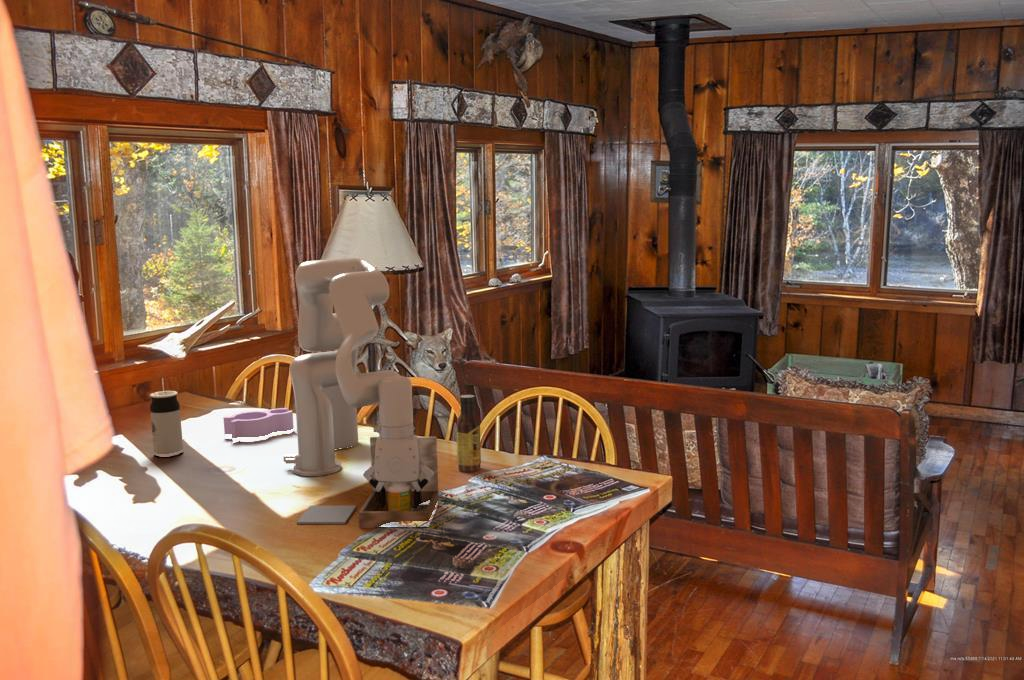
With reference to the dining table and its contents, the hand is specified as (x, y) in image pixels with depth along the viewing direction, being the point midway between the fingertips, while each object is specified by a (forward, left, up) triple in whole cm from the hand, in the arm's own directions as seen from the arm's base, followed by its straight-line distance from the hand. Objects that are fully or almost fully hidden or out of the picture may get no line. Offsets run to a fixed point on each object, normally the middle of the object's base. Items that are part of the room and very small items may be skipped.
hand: (400, 506), depth 215 cm
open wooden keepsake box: (0, 0, -2) cm, 2 cm away
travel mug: (-77, +52, -2) cm, 93 cm away
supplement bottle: (0, 0, -2) cm, 2 cm away
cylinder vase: (-30, +61, -2) cm, 68 cm away
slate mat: (-17, 0, -2) cm, 17 cm away
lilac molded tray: (-57, +72, -3) cm, 92 cm away
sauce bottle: (+12, +36, -2) cm, 38 cm away
